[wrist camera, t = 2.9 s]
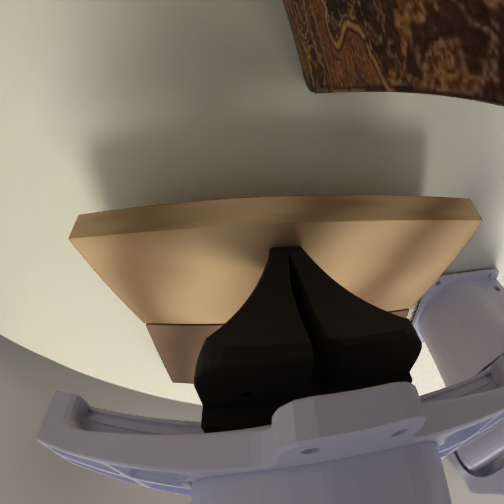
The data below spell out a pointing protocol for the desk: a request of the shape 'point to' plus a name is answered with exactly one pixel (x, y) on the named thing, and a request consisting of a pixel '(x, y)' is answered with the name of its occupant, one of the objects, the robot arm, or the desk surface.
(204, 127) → the desk surface
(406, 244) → the oak plank
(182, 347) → the walnut strip
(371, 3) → the book
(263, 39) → the desk surface
